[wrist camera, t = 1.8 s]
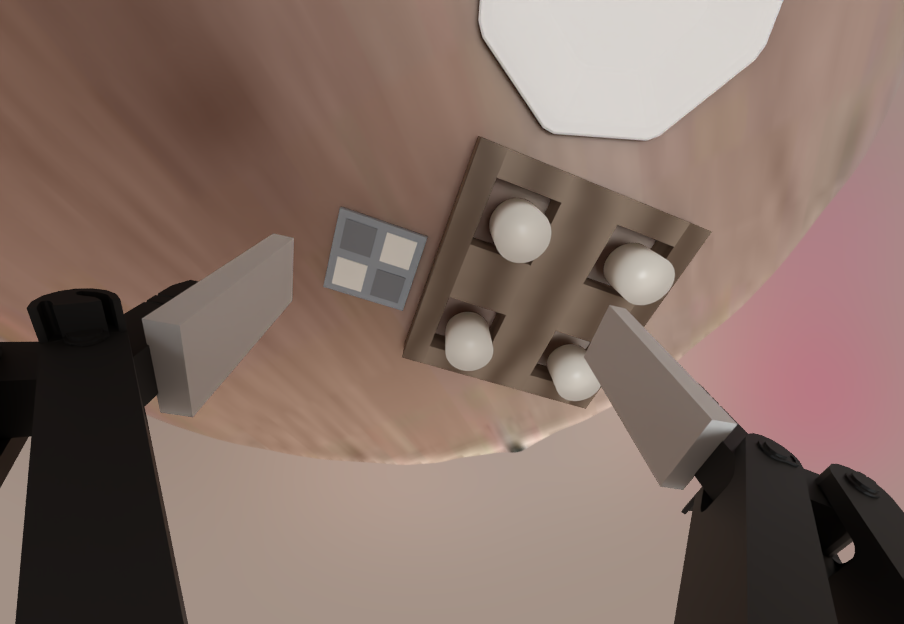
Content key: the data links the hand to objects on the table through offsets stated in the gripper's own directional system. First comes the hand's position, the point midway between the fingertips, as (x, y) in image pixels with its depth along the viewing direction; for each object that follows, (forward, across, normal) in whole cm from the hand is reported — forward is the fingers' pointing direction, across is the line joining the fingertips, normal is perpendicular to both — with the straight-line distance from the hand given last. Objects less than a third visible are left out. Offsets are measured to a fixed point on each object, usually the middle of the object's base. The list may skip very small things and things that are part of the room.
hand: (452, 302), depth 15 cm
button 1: (+20, +5, -13) cm, 24 cm away
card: (+23, -6, -8) cm, 25 cm away
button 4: (+20, +19, -2) cm, 28 cm away
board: (+23, +12, -7) cm, 27 cm away
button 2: (+20, +7, 0) cm, 21 cm away
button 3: (+20, +18, -14) cm, 30 cm away
